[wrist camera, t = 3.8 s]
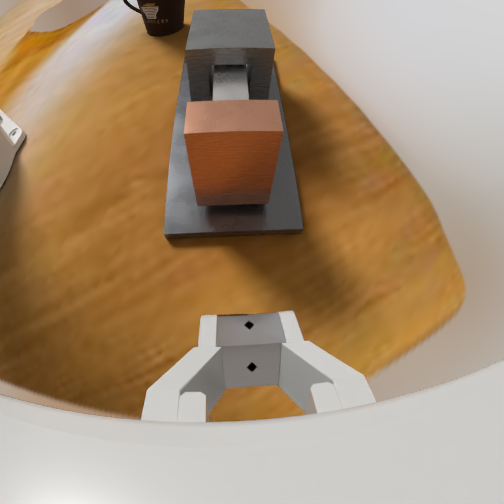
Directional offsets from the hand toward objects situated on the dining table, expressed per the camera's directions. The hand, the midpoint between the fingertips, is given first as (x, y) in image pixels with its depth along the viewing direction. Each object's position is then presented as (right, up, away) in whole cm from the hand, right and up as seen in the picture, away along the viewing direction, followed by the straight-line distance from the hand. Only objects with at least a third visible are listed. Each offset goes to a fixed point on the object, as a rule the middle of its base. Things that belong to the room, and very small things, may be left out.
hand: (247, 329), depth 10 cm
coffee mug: (-16, +42, +31) cm, 55 cm away
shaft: (-2, +14, +19) cm, 24 cm away
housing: (-2, +18, +22) cm, 29 cm away
